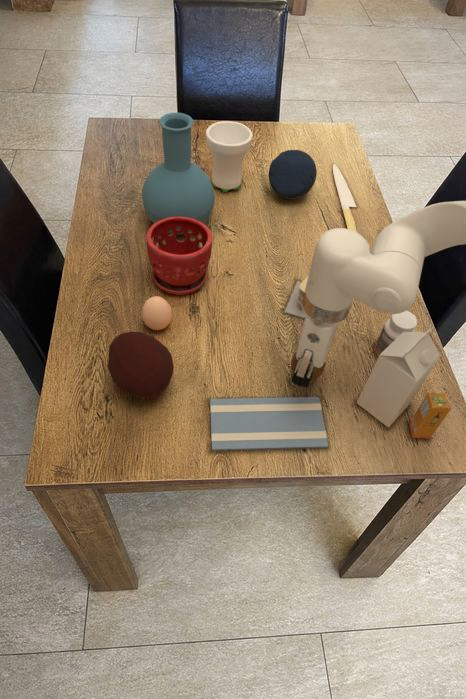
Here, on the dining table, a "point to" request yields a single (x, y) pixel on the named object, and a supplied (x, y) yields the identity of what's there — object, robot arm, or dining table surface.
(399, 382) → the milk carton
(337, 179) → the knife
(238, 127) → the cup
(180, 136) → the vase
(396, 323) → the pill bottle
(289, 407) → the towel
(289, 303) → the stacked layers on plate
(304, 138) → the dining table surface
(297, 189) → the decorative stone
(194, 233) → the flower pot
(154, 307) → the egg
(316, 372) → the fruit
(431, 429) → the supplement box
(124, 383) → the potato
